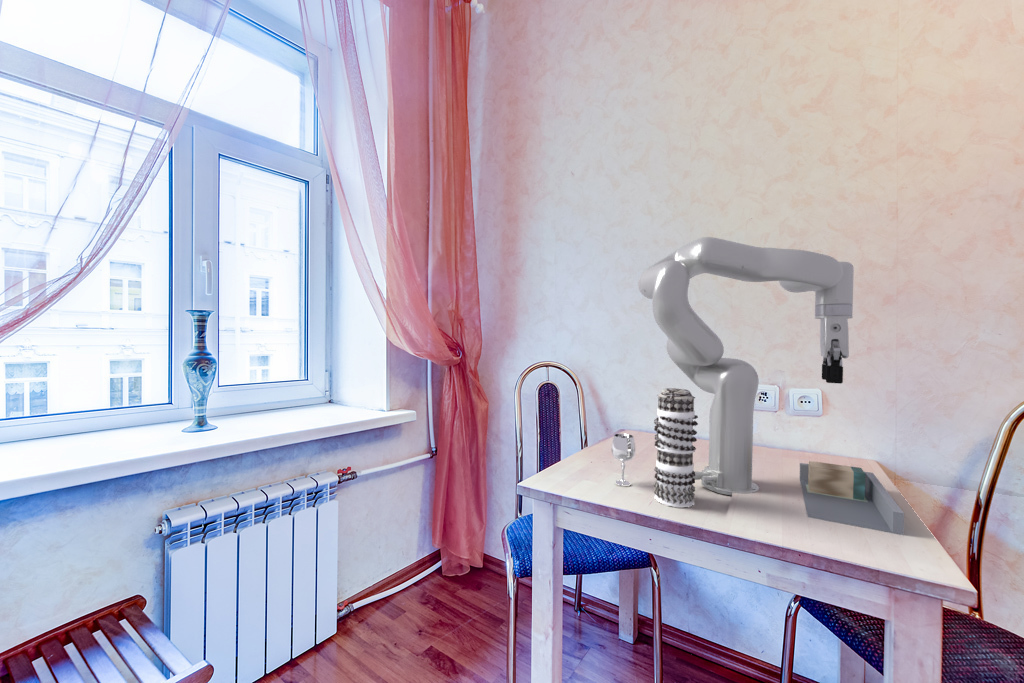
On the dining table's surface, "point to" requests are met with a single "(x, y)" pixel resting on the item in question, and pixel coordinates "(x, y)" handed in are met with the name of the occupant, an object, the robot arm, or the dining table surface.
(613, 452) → the wineglass
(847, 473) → the oak block
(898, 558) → the dining table surface
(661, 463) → the decorative candle
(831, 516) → the tray
